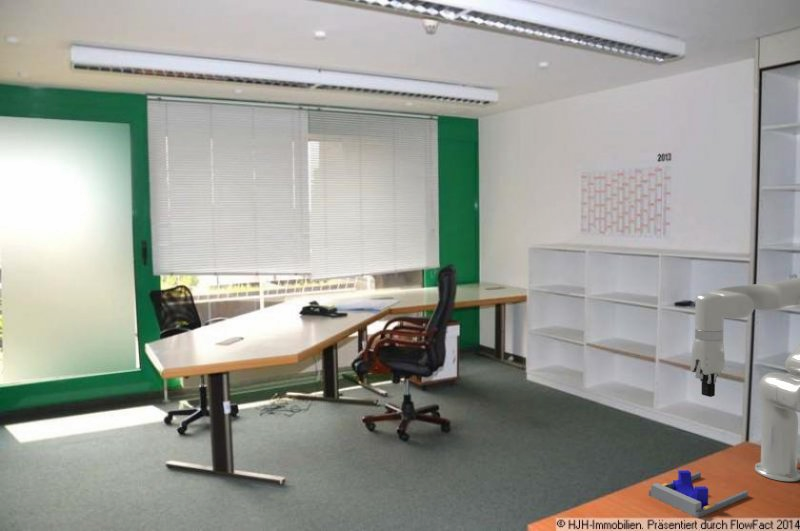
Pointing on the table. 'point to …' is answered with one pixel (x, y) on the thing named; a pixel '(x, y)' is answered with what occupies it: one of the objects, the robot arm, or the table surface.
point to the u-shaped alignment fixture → (689, 499)
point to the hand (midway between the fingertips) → (708, 395)
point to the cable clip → (690, 488)
